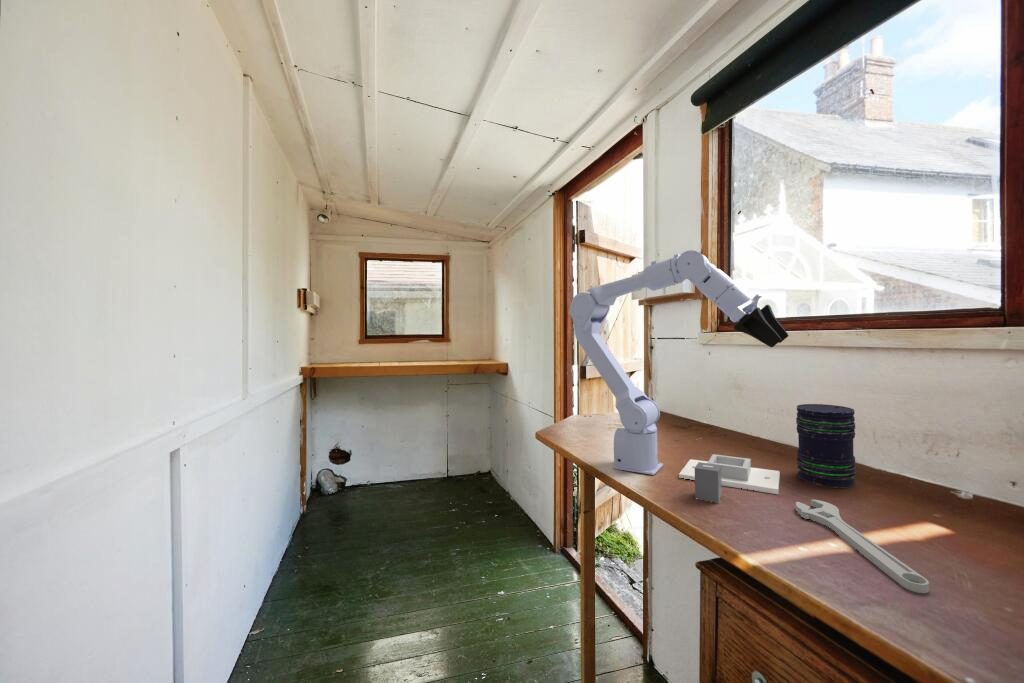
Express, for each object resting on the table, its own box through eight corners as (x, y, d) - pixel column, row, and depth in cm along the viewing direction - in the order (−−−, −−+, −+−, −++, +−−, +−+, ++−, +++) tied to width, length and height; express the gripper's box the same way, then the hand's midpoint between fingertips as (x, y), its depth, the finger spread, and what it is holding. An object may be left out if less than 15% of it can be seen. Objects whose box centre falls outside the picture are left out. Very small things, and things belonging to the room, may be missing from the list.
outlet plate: (679, 478, 91) (678, 462, 90) (690, 463, 100) (690, 448, 100) (778, 494, 81) (777, 476, 80) (779, 475, 91) (779, 459, 90)
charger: (695, 499, 79) (694, 467, 79) (699, 492, 83) (698, 461, 83) (718, 503, 77) (718, 470, 77) (721, 496, 81) (721, 464, 80)
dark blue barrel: (824, 489, 82) (823, 413, 82) (785, 473, 92) (784, 405, 92) (869, 486, 84) (868, 411, 83) (826, 470, 93) (825, 403, 93)
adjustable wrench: (936, 598, 50) (936, 584, 50) (873, 593, 51) (873, 578, 51) (828, 509, 74) (828, 499, 74) (788, 507, 76) (787, 497, 76)
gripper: (730, 278, 79) (791, 330, 73) (749, 278, 89) (804, 323, 84) (703, 306, 82) (759, 357, 77) (724, 303, 93) (775, 347, 88)
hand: (780, 341), depth 81 cm, fingers open, 7 cm apart
